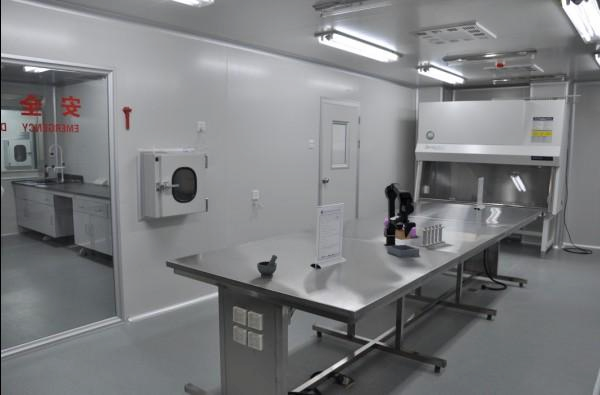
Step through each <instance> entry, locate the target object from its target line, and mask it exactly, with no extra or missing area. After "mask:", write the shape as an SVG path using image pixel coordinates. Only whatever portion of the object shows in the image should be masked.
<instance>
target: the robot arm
mask: <svg viewBox="0 0 600 395" xmlns="http://www.w3.org/2000/svg"><path fill="white" fill-rule="evenodd" d="M384 194H385V198H386V200H387V217H388V223H387V225H386V229H385V231H384V230H383V237H385V244H383V245H384V246H386V247H387V246H395V245H396V238H395V232H396V230H402V229H403V228H404V229H405V238H407V236H408V235H409V233H410V231H411V229H412V228H413V227H416V228H417V223H416V222H414V221H410V219H409V216H410V215H411V214H413V213H414V212H415V207H414V205H412V204H413V201H414V200H413V196H412V194H411V192H410V191H409V190H406V189H404V188H402V186H401V185H400V183H399V182H392V183H390V184H389V185H387V186H386V187H385V188H384ZM396 199H397V200H398V204H399V205H398V212H397V213H396ZM403 226H405V227H403Z"/></svg>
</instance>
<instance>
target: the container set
mask: <svg viewBox="0 0 600 395" xmlns="http://www.w3.org/2000/svg"><path fill="white" fill-rule="evenodd" d="M387 223H388V216H387V217H386V218H385V219H384V222H383V226H384V228H383V232H384V231H385V229H386V225H387ZM403 227H405V226H404V225H403ZM403 229H404V228H403ZM403 229H402V230H403ZM415 237H417V226H416V227H413V228H412V229H411V231H410V238H415Z"/></svg>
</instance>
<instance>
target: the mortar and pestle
mask: <svg viewBox="0 0 600 395" xmlns="http://www.w3.org/2000/svg"><path fill="white" fill-rule="evenodd" d="M277 259H278V256H277V255H276V254H273V255H271V258H270V260H269V261H266V260H265V261H260V262H258V263H257V264H256V265H257V266H256V267H257V270H258V272H259V273H260V277H261V279H273V277H274V273H275V272H276V270H277V266H278V265H277V262H276V261H277Z"/></svg>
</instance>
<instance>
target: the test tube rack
mask: <svg viewBox="0 0 600 395" xmlns="http://www.w3.org/2000/svg"><path fill="white" fill-rule="evenodd" d="M445 228H446V226H443V225H442V223H439V224H435V225H434V224H433V225H427V226H424V229H420V230H419V231H420V232H422V244H419V247H423V248H426V247H430V246H435V245H439V244H444V243H446V242H445V240H443V229H445ZM443 242H444V243H443Z"/></svg>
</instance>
